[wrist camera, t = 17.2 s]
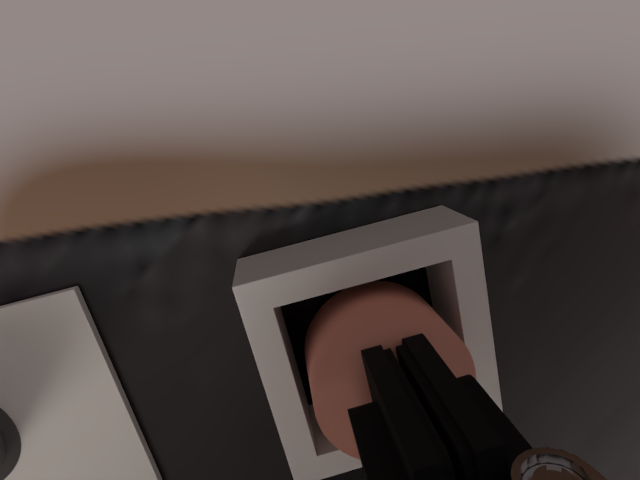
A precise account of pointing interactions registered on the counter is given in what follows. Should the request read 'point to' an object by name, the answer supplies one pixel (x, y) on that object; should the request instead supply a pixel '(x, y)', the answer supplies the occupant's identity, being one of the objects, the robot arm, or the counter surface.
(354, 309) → the button
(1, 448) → the marker
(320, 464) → the button housing
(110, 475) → the paper
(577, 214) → the counter surface
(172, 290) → the counter surface
